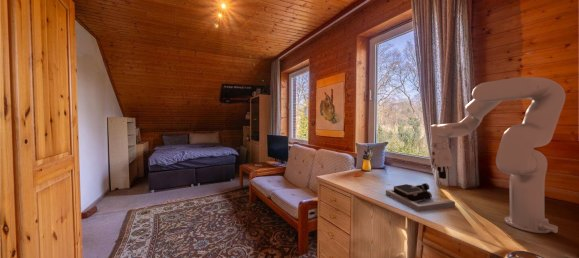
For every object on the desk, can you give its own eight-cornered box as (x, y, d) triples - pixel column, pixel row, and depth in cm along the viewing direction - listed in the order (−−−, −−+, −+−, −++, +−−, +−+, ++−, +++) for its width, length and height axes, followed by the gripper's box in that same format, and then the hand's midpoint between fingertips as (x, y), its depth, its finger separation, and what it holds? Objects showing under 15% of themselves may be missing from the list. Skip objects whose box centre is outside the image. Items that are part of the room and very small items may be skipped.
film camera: (418, 192, 130) (437, 201, 115) (393, 197, 129) (409, 206, 114) (416, 179, 130) (435, 186, 115) (391, 184, 129) (407, 191, 114)
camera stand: (454, 206, 108) (454, 201, 108) (418, 211, 104) (418, 206, 104) (416, 190, 134) (415, 186, 134) (385, 194, 130) (385, 190, 130)
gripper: (434, 147, 115) (437, 181, 115) (457, 145, 118) (460, 178, 118) (423, 146, 123) (425, 178, 122) (445, 144, 125) (447, 175, 125)
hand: (442, 178), depth 120 cm, fingers closed
